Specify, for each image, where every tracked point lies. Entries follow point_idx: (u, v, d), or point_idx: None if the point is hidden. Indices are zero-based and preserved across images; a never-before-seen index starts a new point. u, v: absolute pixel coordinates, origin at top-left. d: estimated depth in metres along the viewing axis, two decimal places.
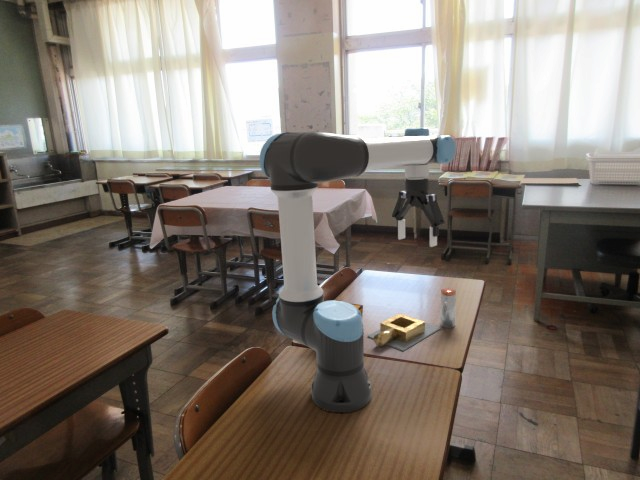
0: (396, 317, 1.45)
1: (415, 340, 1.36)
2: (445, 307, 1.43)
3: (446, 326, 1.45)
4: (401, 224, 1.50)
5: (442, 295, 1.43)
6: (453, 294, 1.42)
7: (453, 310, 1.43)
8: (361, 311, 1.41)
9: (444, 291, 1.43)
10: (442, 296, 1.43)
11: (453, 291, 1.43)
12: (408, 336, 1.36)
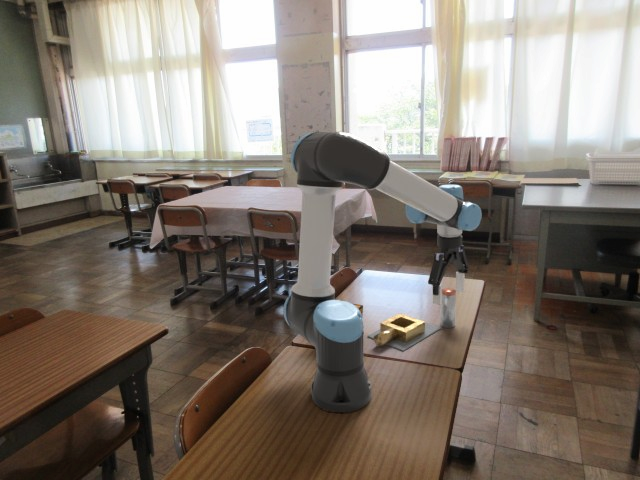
0: (396, 317, 1.45)
1: (415, 340, 1.36)
2: (445, 307, 1.43)
3: (446, 326, 1.45)
4: (458, 276, 1.48)
5: (442, 295, 1.43)
6: (453, 294, 1.42)
7: (453, 310, 1.43)
8: (361, 311, 1.41)
9: (444, 291, 1.43)
10: (442, 296, 1.43)
11: (453, 291, 1.43)
12: (408, 336, 1.36)
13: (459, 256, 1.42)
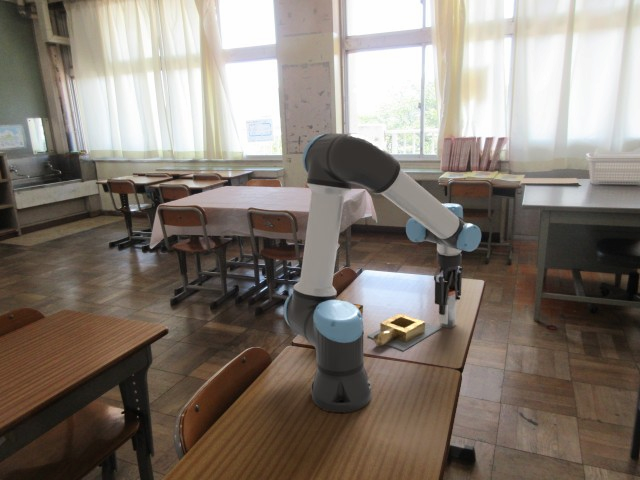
0: (396, 317, 1.45)
1: (415, 340, 1.36)
2: None
3: (446, 326, 1.45)
4: None
5: None
6: (453, 294, 1.42)
7: (453, 310, 1.43)
8: (361, 311, 1.41)
9: None
10: None
11: (453, 291, 1.43)
12: (408, 336, 1.36)
13: (457, 276, 1.43)
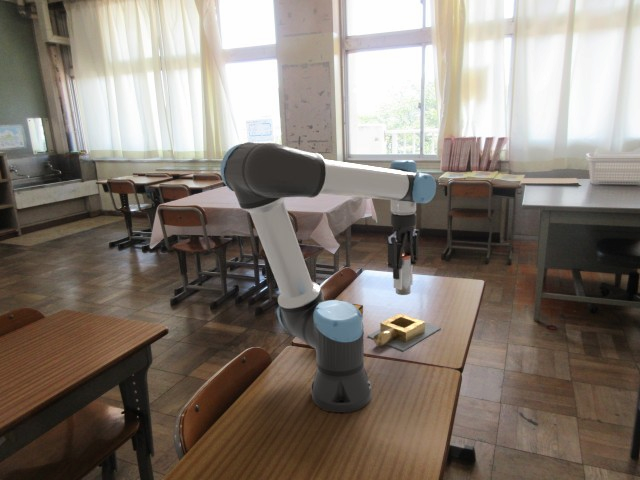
0: (396, 317, 1.45)
1: (415, 340, 1.36)
2: None
3: (401, 293, 1.36)
4: None
5: None
6: (407, 258, 1.34)
7: (408, 276, 1.35)
8: (361, 311, 1.41)
9: None
10: None
11: (408, 255, 1.35)
12: (408, 336, 1.36)
13: (412, 239, 1.35)
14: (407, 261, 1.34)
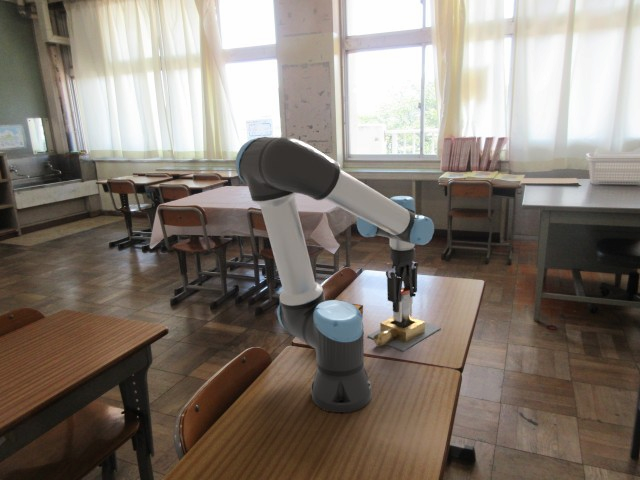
0: None
1: (415, 340, 1.36)
2: None
3: None
4: None
5: None
6: (406, 293, 1.37)
7: (407, 310, 1.38)
8: (361, 311, 1.41)
9: None
10: None
11: (407, 290, 1.38)
12: (408, 336, 1.36)
13: (411, 272, 1.37)
14: (406, 296, 1.37)
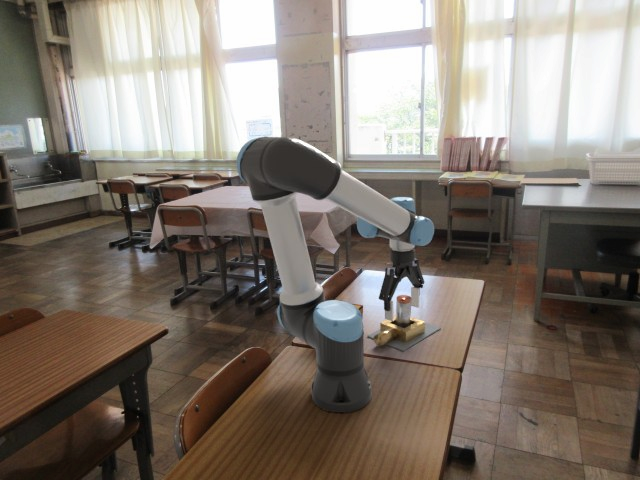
0: None
1: (415, 340, 1.36)
2: (399, 315, 1.38)
3: None
4: (413, 291, 1.43)
5: (397, 302, 1.38)
6: (408, 302, 1.37)
7: (408, 318, 1.38)
8: (361, 311, 1.41)
9: (399, 298, 1.38)
10: (397, 303, 1.38)
11: (409, 298, 1.38)
12: (408, 336, 1.36)
13: (413, 271, 1.38)
14: (408, 304, 1.37)
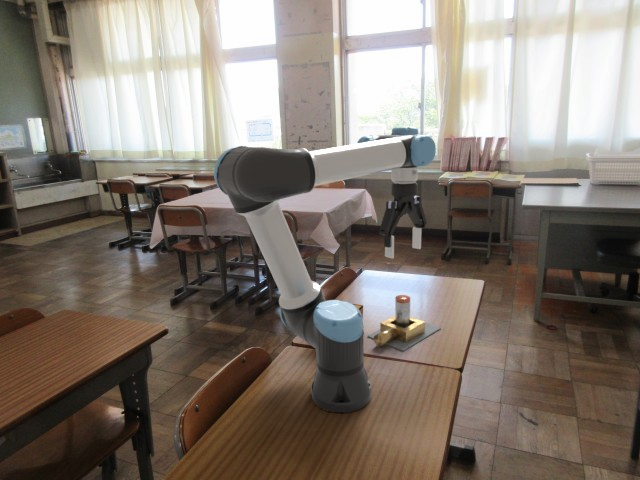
0: None
1: (415, 340, 1.36)
2: (399, 315, 1.38)
3: None
4: (415, 232, 1.37)
5: (396, 302, 1.38)
6: (407, 301, 1.37)
7: (407, 318, 1.39)
8: (361, 311, 1.41)
9: (398, 298, 1.38)
10: (396, 303, 1.38)
11: (407, 298, 1.38)
12: (408, 336, 1.36)
13: (415, 207, 1.31)
14: (407, 304, 1.37)
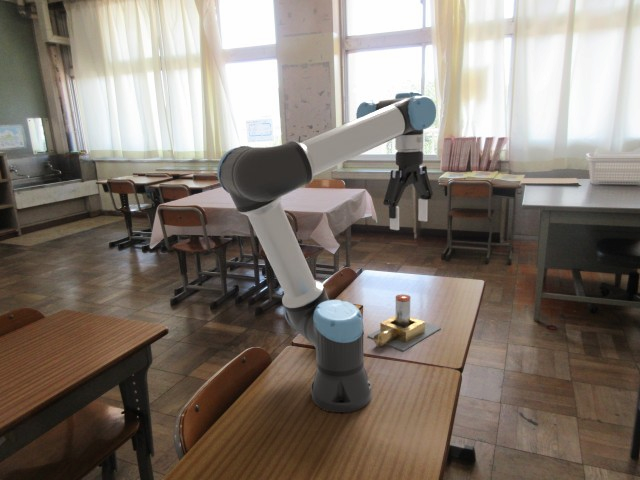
0: None
1: (415, 340, 1.36)
2: (399, 313, 1.39)
3: None
4: (420, 204, 1.32)
5: (396, 301, 1.39)
6: (407, 300, 1.38)
7: (408, 317, 1.39)
8: (361, 311, 1.41)
9: (398, 297, 1.39)
10: (396, 302, 1.39)
11: (408, 297, 1.39)
12: (408, 336, 1.36)
13: (420, 177, 1.26)
14: (407, 303, 1.38)
